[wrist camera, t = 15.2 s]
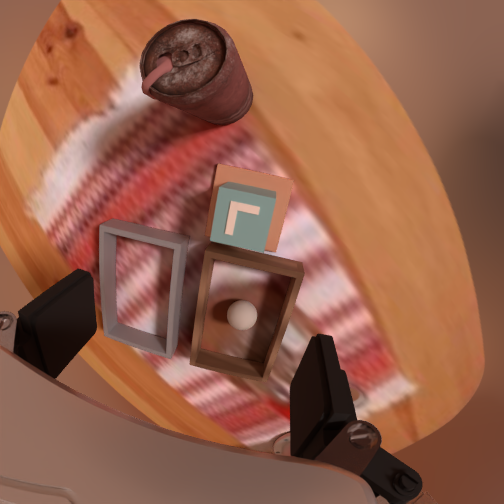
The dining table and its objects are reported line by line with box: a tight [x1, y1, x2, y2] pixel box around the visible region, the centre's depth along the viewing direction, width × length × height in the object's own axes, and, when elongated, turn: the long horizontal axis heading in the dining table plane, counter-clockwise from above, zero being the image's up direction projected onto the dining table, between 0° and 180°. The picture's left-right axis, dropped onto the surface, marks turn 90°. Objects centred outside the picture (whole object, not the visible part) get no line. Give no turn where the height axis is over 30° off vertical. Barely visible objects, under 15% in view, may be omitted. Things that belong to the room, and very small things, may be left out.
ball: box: [227, 300, 257, 330], centre depth 32 cm, size 4×4×4 cm
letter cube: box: [210, 182, 276, 253], centre depth 27 cm, size 5×5×5 cm
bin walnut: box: [190, 241, 305, 382], centre depth 32 cm, size 16×10×3 cm, turn 168°
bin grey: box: [99, 219, 190, 359], centre depth 32 cm, size 16×10×3 cm, turn 168°
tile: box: [205, 164, 294, 252], centre depth 29 cm, size 8×8×1 cm
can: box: [140, 19, 253, 125], centre depth 19 cm, size 6×6×14 cm
